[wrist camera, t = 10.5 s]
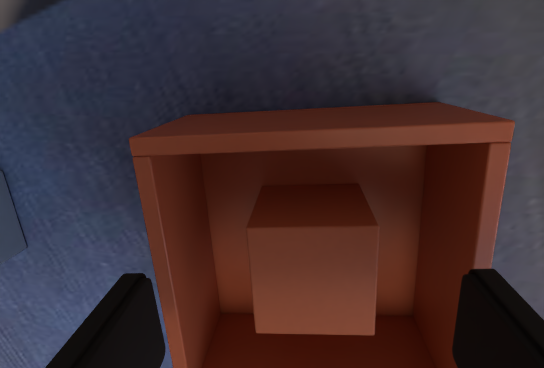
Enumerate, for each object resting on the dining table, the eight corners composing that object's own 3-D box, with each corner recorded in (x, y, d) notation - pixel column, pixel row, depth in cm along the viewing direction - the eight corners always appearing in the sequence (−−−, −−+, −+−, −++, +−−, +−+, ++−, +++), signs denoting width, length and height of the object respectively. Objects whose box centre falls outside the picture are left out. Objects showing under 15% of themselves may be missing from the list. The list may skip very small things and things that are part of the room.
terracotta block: (261, 185, 16) (245, 228, 12) (359, 182, 15) (380, 226, 11) (267, 269, 17) (255, 334, 13) (357, 269, 17) (375, 336, 13)
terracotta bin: (186, 114, 16) (127, 137, 10) (439, 101, 15) (516, 120, 9) (214, 314, 19) (180, 407, 14) (419, 317, 18) (467, 419, 13)
